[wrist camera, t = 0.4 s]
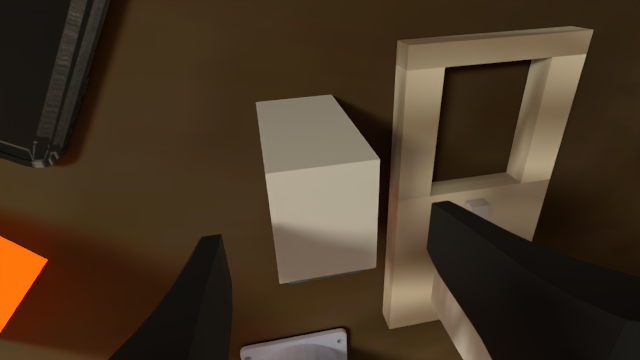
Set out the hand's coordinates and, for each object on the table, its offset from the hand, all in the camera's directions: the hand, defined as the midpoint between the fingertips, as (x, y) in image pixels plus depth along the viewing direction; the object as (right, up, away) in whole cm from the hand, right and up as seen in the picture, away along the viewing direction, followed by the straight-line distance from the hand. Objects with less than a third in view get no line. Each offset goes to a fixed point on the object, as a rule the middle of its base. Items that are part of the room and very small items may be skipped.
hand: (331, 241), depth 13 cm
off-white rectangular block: (-2, +4, +8) cm, 9 cm away
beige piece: (+9, +1, +12) cm, 15 cm away
